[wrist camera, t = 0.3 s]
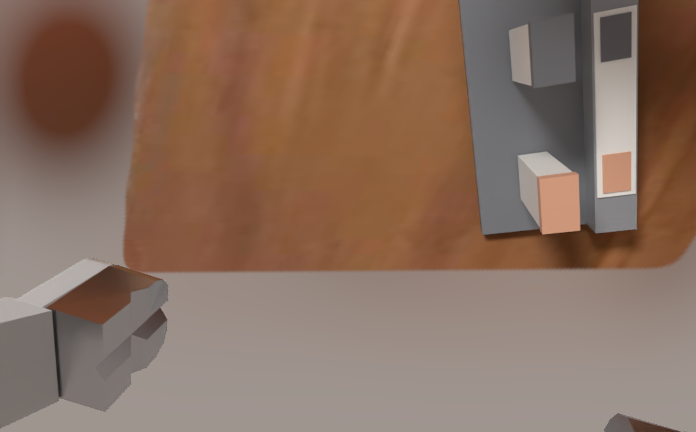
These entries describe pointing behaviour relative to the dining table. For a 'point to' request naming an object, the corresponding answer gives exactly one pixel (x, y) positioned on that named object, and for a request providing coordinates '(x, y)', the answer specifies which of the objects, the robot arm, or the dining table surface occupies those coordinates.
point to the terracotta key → (549, 192)
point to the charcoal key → (544, 52)
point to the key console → (555, 110)
